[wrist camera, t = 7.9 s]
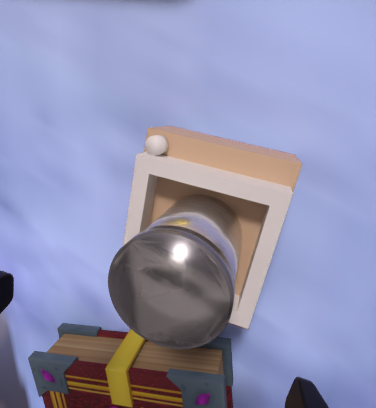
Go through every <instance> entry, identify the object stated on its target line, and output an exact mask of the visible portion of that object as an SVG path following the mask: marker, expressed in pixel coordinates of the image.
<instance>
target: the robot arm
mask: <svg viewBox="0 0 376 408" xmlns="http://www.w3.org/2000/svg"><path fill="white" fill-rule="evenodd" d="M13 290H14V278H13V275H11V274H10V273H7V272H4V271H0V313H1V312H2V311H3V310H4V309H5V308H6V307H7V306H8V305H9V304H10V302H11V301H12V298H13ZM285 408H329V407H328V405H327V404H326V402H325V401H324V399H323V398H322V396H321V395H320V393H319V391H318V390H317V388H316V387H315V385H314V384H313V383H312V382H311V381H309V380H306V379H303V378H301V377H296V378H295V379H294V381H293V384H292V386H291V388H290V391H289V393H288V396H287V398H286V402H285Z"/></svg>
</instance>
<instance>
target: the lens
mask: <svg viewBox="0 0 376 408" xmlns="http://www.w3.org/2000/svg"><path fill="white" fill-rule="evenodd" d="M242 239H243V235H242V228H241V224H240V222H239V219H238V218H237V216H236V214H235V213H234V211H233V210H232V209H231V208H230V207H229V206H228V205H226V204H225V203H224V202H222V201H221V200H219V199H217V198H214V197H211V196H207V195H190V196H187V197H184V198H182V199H180V200H178V201H176V202H175V203H174V204H173V205H172V206H171V207H169V208H168V209H167V210H166V211H165V212H164V213H163V214H162V215H161V216H160V217H159V218H157V219H156V220H155V221H154V222H153V223H152V224H151V225H150V226H149V227H148V228H147V229H145V230H144V231H142V232H140V233H138V234H137V235H135V236H134V237H133V238H132V239H131V240H130V241H128V242H127V243H126V244H125V245H124V246H123V247H122V248H121V249H120V250H119V251H118V252H117V254H116V255H115V257H114V259H113V261H112V263H111V266H110V270H109V275H108V286H109V293H110V297H111V300H112V303H113V305H114V307H115V309H116V311H117V312H118V314H119V316H120V317H121V318H122V320H123V321H124V322H125V323H126V324H127V325H128V326H129V328H131V329H132V330H133V331H134V332H135V333H136V334H138V335H139V336H141V337H142V338H144V339H146V340H148V341H149V342H152V343H154V344H156V345H159V346H163V347H167V348H172V349H190V348H196V347H199V346H202V345H205V344H207V343H209V342H210V341H212V340H214V339H215V338H216V337H217V336H218V335H220V333H221V332H222V331H223V330H224V329H225V327H226V325H227V324H228V322H229V319H230V317H231V313H232V308H233V303H234V297H235V277H236V272H237V267H238V262H239V256H240V251H241V246H242Z"/></svg>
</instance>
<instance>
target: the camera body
mask: <svg viewBox="0 0 376 408" xmlns="http://www.w3.org/2000/svg"><path fill="white" fill-rule="evenodd" d="M301 167H302V163H301V162H300V161H299V159H298V158H297V157H296V156H295V155H293V154H289V153H285V152H280V151H276V150H272V149H267V148H263V147H259V146H254V145H250V144H246V143H241V142H237V141H233V140H228V139H224V138H220V137H216V136H211V135H207V134H203V133H198V132H194V131H190V130H185V129H181V128H177V127H172V126H166V127H152V128H148V130H147V137H146V143H145V150H144V152H143V153H139V154H136V161H135V168H134V175H133V182H132V189H131V195H130V202H129V209H128V216H127V223H126V230H125V236H124V243H123V246H124V245H125V244H126V243H127V242H128V241H130V240H131V239H132V238H133V237H134V236H135V235H137V234H138V233H140V232H142V231H144V230H145V229H147V228H148V227H149V226H150V225H151V224H152V223H153V222H154V221H155V220H156V219H157V218H159V217H160V216H161V215H162V214H163V213H164V212H165V211H166V210H167V209H168V208H169V207H171V206H172V205H173V204H174V203H175V202H176V201H178V200H180V199H182V198H184V197H187V196H190V195H207V196H211V197H214V198H217V199H219V200H221V201H222V202H224V203H225V204H226V205H228V206H229V207H230V208H231V209H232V210H233V211H234V213H235V214H236V216H237V218H238V219H239V222H240V224H241V228H242V235H243V239H242V246H241V251H240V256H239V262H238V267H237V272H236V277H235V297H234V303H233V308H232V313H231V317H230V319H229V322H228V323H230V324H233V325H236V326H239V327H242V328H245V329H248V328H249V325H250V322H251V319H252V316H253V313H254V310H255V307H256V304H257V301H258V298H259V295H260V292H261V289H262V286H263V283H264V280H265V277H266V274H267V271H268V268H269V265H270V262H271V259H272V256H273V253H274V250H275V247H276V244H277V241H278V238H279V234H280V231H281V228H282V225H283V222H284V219H285V216H286V213H287V210H288V207H289V204H290V201H291V198H292V195H293V191H294V188H295V185H296V182H297V179H298V176H299V173H300V170H301Z"/></svg>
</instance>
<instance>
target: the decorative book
mask: <svg viewBox="0 0 376 408" xmlns="http://www.w3.org/2000/svg"><path fill="white" fill-rule="evenodd" d="M100 328H101V327H94V326H85V325H75V324H66V323H63V324H62V325H60V326H59V327H58V333H59V340H58V341H57V342H56V343H55V344H54V345H53V346H52V347H51V348H50V349H49V350H48V351H47V353H46V352H38V351H34V352H33V353H32V355H31V356H30V357H29V358H28V359H29V363H30V366H31V370H32V373H33V377H34V380H35V384H36V387H37V391H38V394H39V397H40V396H42V397H43V400H44V404H45V408H233V402H232V388H231V386H232V385H233V369H232V352H231V339H226V338H215V339H214V340H212V341H210V342H209V343H207V344H205V345H202V346H199V347H196V348H190V349H172V348H167V347H163V346H159V345H156V344H154V343H152V342H149V341H148V340H146V339H144V338H142V337H141V336H139V335H138V334H136V333H135V332H134V331H133V330H132V329H130V331H129V332H118V331H107V330H100Z"/></svg>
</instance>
